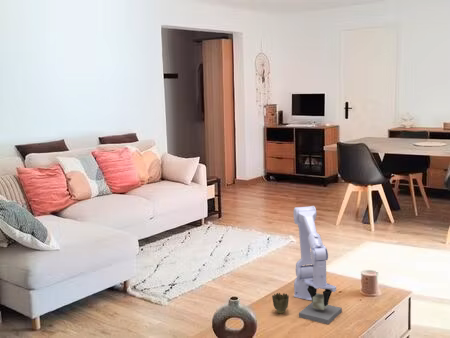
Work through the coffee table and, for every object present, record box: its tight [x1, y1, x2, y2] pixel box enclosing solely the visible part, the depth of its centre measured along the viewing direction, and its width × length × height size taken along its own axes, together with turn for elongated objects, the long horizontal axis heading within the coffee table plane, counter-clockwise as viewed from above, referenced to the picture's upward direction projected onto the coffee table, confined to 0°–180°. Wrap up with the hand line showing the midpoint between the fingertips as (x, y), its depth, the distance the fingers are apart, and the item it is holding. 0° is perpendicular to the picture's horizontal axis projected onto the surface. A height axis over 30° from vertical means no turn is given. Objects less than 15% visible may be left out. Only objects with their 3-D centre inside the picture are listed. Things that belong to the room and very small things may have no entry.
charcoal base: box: [298, 301, 343, 325], centre depth 230 cm, size 14×14×2 cm
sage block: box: [313, 292, 329, 310], centre depth 229 cm, size 5×5×5 cm
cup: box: [271, 292, 290, 315], centre depth 233 cm, size 8×7×8 cm
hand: (320, 303), depth 229 cm, fingers closed on sage block, 5 cm apart
